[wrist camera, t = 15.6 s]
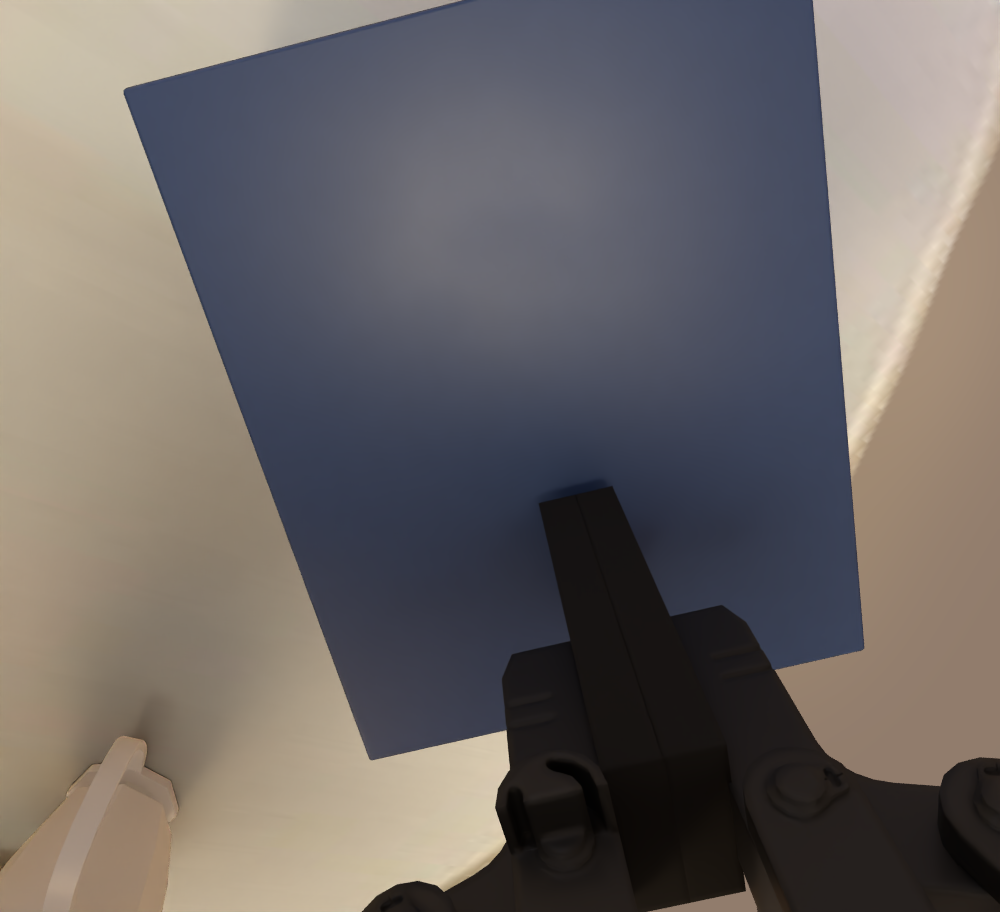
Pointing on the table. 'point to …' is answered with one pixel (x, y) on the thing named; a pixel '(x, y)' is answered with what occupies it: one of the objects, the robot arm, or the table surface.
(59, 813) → the cup
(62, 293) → the table surface
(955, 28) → the table surface
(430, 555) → the case lid
